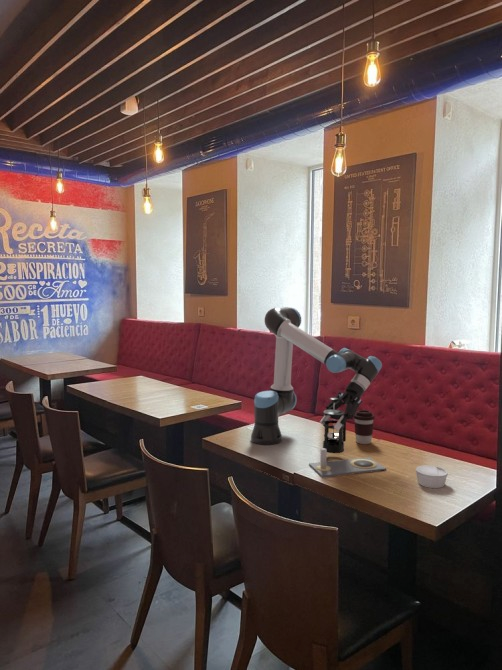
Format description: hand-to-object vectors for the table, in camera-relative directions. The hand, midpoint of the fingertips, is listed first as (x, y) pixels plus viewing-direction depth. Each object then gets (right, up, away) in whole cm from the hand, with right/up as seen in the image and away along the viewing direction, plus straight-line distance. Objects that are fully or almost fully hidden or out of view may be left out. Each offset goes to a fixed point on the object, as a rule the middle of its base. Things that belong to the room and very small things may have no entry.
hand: (328, 426), depth 212 cm
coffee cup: (+21, -12, +24) cm, 34 cm away
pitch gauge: (+6, -15, -9) cm, 19 cm away
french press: (+3, -11, +3) cm, 11 cm away
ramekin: (+35, -17, -26) cm, 47 cm away
